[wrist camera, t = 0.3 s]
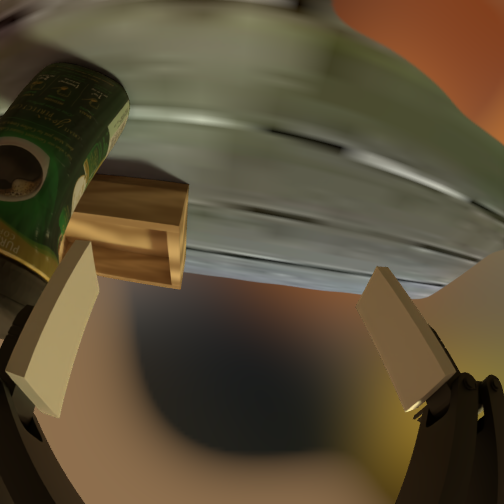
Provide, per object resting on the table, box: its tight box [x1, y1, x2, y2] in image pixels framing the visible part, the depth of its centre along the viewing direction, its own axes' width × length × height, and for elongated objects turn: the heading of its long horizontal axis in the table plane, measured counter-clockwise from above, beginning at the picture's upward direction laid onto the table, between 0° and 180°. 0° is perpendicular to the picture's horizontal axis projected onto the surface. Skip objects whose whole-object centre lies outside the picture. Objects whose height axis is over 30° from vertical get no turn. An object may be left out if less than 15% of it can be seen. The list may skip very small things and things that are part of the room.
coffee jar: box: [0, 63, 130, 339], centre depth 12 cm, size 10×8×19 cm
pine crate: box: [59, 174, 189, 289], centre depth 30 cm, size 16×20×5 cm
